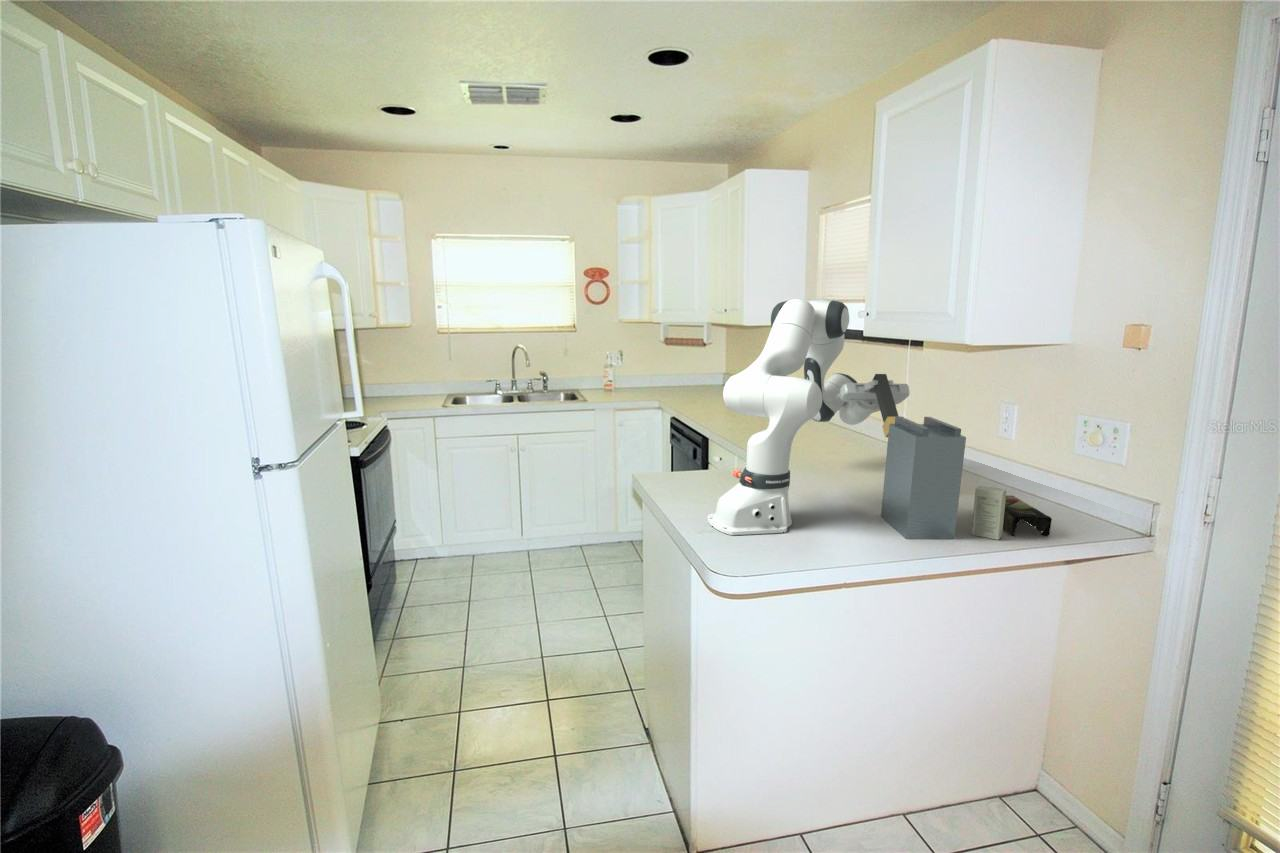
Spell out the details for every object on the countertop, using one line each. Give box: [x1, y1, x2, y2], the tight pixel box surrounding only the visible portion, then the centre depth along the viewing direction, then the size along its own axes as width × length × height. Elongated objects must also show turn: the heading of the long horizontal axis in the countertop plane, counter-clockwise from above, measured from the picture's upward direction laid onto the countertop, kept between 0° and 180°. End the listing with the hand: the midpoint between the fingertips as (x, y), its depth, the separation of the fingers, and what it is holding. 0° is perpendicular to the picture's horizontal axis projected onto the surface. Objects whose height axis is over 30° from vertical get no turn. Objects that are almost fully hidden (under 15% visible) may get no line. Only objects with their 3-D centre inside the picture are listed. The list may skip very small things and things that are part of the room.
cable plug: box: [872, 373, 905, 439], centre depth 178 cm, size 21×5×5 cm
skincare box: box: [971, 485, 1007, 541], centre depth 153 cm, size 6×4×12 cm
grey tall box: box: [880, 415, 967, 540], centre depth 157 cm, size 16×12×28 cm
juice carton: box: [1003, 494, 1053, 537], centre depth 163 cm, size 20×10×6 cm, turn 175°
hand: (883, 382), depth 182 cm, fingers closed on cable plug, 3 cm apart
